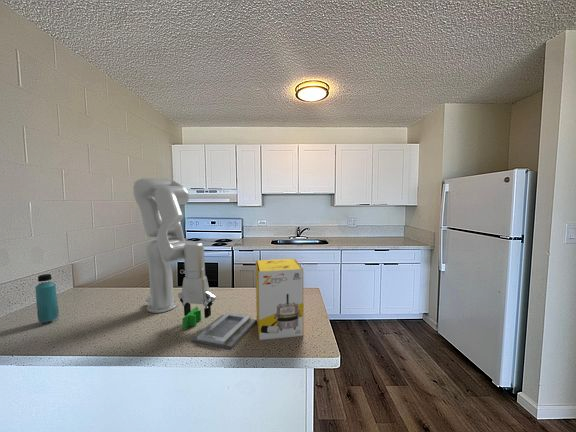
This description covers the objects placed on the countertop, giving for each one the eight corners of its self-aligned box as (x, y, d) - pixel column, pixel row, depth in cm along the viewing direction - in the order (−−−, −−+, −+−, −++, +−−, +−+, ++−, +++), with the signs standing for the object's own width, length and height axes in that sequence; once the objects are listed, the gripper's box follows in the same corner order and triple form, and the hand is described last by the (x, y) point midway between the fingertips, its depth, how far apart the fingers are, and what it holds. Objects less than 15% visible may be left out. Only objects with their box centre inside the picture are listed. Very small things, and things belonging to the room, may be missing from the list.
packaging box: (294, 316, 113) (294, 258, 112) (303, 335, 98) (303, 269, 96) (256, 319, 111) (255, 260, 109) (259, 340, 95) (258, 271, 93)
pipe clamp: (191, 330, 102) (191, 319, 102) (182, 330, 103) (182, 318, 102) (204, 317, 114) (204, 306, 113) (196, 316, 114) (195, 306, 114)
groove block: (191, 341, 94) (191, 335, 94) (222, 316, 113) (222, 311, 113) (231, 349, 89) (230, 342, 89) (256, 322, 108) (256, 316, 108)
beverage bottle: (62, 319, 112) (59, 273, 110) (44, 327, 105) (40, 277, 104) (52, 317, 114) (49, 271, 112) (33, 324, 108) (29, 276, 106)
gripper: (170, 275, 105) (173, 317, 106) (208, 277, 100) (210, 322, 101) (183, 270, 113) (186, 309, 113) (219, 272, 107) (221, 313, 108)
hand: (197, 315), depth 107 cm, fingers open, 9 cm apart
